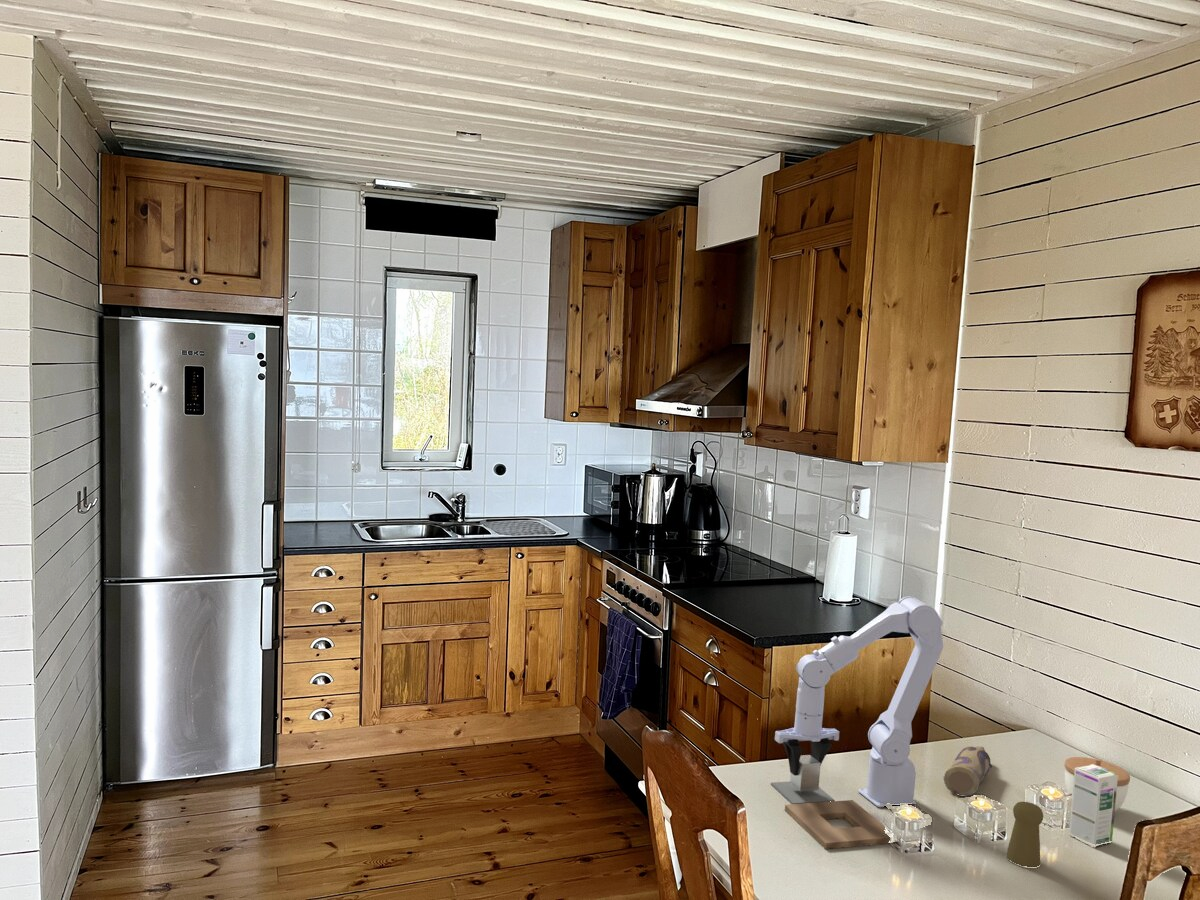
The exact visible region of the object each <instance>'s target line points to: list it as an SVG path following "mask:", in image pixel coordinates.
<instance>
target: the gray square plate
mask: <svg viewBox="0 0 1200 900" xmlns="http://www.w3.org/2000/svg"><path fill="white" fill-rule="evenodd" d="M770 785H771V786H772V788H774V789H775V790H776V791H777V792H778V793H779V794H780V795H781V796H782V797H784V798H785V799H786V800H787V801H788V802H789V803H790V804H803V803H817V802H830V801H831V802H832V801H836V800H835V799H834V798H833V797H832V796H830V794H828V793H827V792H826V791H825V790H823V789H822V788H821V787H820V786H819V789H818V790H816V791H801V792H800V791H799V790H798V789H797V788H795V787H794V786H793V785H792V784H791V783H790V781H775V782H770Z"/></svg>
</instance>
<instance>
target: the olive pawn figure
mask: <svg viewBox="0 0 1200 900" xmlns="http://www.w3.org/2000/svg"><path fill="white" fill-rule="evenodd" d="M1012 813H1013V817H1014V819H1015V820H1014V824H1013V828H1012V831H1011V835H1010V839H1009V843H1008V845H1007V852H1006V855H1007V858H1008V859H1009V860H1011V861H1012V862H1014V863H1016V864H1019V865H1021V866H1027V867H1037V866H1039V865H1040V864H1041V842H1040V841H1041V840H1040V839H1041V838H1040V825H1041V824H1042V822H1043V821H1044V812H1043V810H1042V808H1041V807H1040V806H1039V805H1037V804H1034V803H1032V802H1029V801H1019V802H1018V801H1017V803H1015V805H1014V806H1013V809H1012ZM1006 855H1005V856H1006ZM1007 858H1006V859H1007ZM1008 859H1007V860H1008ZM1009 860H1008V861H1009Z"/></svg>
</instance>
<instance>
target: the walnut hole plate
mask: <svg viewBox="0 0 1200 900" xmlns="http://www.w3.org/2000/svg"><path fill="white" fill-rule="evenodd" d="M784 811H785V812H786V813H787V814H788V815H789V816H790V817H791V818H792V819H793V820H794V821H795V822H796V823H797V824H798V825H799V826H800V827H801V828H802V829H804V831H805V832H806V833H808V835H810V836H811V837H812V838H813V839H814V840H815V841H816V842H817V843H818V844H819V845H820V844H821V845H822V846H823V847H824V848H823V847H822V848H823V849H824V850H831V849H830V848H833V849H841V847H845V848H852V847H851V846H856V847H863V846H862V845H867V846H872V845H871V844H879V845H886V844H885V843H888V842H889V840H890V837H889V836H888V835H887V834H885V831H884V830H885V827H886V826H885V825H884V824H883V823H882V822H880V821H879V820H878V819H877V818H876V817H874V816H873V815H871V813H869V812H868V811H867V810H866V809H865V808H863V807H862V806H860V805H859V804H858V803H857V802H856V801H854V799H850V800H849V799H848V800H837V801H836V800H835V801H832V802H817V803H803V804H791V803H790V804H784ZM833 818H840V819H845V820H846V819H847V820H848V821H849V822H850V825H852V826H851V827H850V826H849V827H840V828H839V827H838V828H836V827H834V826H833V825H832V824H831V823H829V822H828V821H827V820H834V819H833ZM825 819H827V820H825ZM847 820H846V821H847ZM848 821H847V822H848ZM849 822H848V823H849ZM860 845H861V846H860Z"/></svg>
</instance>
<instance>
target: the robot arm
mask: <svg viewBox="0 0 1200 900" xmlns="http://www.w3.org/2000/svg"><path fill="white" fill-rule="evenodd" d="M943 624H944V623H943V620H942V618H941V617H940V615H939V614H938V612H937V610H936V609H935V608H933V607H932V606H931V605H927V604H926V603H924V602H923V601H922V600H921V599H919V598H918V597H916V596H912V595H908V596H904V597H902V598H900V599H899V600H898V602H897V601H896V602H893V603H892V604H890V605H889V606H888V607H887V608H886V609H885V610H884V611H883V612H881V613H880V614H878V615H877V616H876V617H874V618H873V619H872V620H871V621H869V622H868V623H867V624H865V625H863V626H862V627H861V628H860V629H858V630H857V631H856V632H854V633H853V634H851V635H850V636H848V635H839V636H838V637H837V636H836V635H834V636H833V637H832V638H830V640H831V641H830V642H829V643H827V644H826V645H825V646H823V647H821V648H820V649H818V650H817V649H815V650H813V651H812V653H811V654H809V653H808V654H805V655H804V656H801V658H800V659H799V661H798V662H797V664H796V665H795V670H796V672H797V674H798V676H799V677H798V685H797V692H796V701H795V702H796V703H795V715H794V727H791V728H788V729H783V730H776V731H775V732H774V734H775V735H774V741H775V742H777V743H778V744H783V747H784V749H785V753H786V755H787V759H788V765H789V772H790V774H791V773H792V774H793V775H795V776H796V775H797V774H798V770H799V760H800V756H801V755H802V753H803V750H804V748H803V747H802V746H801V745H800V743H799V742H805V741H807V742H808V741H809V742H810V755H811V756H812V757H814V758H815V759H816V760H817V761H819V762H820V763H821V765H820V767H821V766H822V763H823V761H824V759H825V758H826V756H827V754H828V753H829V752H830V751H831V749H832V743H831V742H829V741H830V740H833V741H840V740H839V739H840V731H839V730H837V729H836V728H825V727H823V726H822V725H823V717H824V716H823V715H824V706H825V705H824V704H825V694H826V693H825V688H826V685H827V684H828V683H829V682H830V680H831V676H832V675H834V674H836V673H837V672H838V671H840V670H842V669H843V668H844V667H846V666H847V665H849V664H851V663H853V662H854V661H856V660H857V659H858V657H859V654H860V653H859V652H860V650H863V649H864V648H865V647H867V646H868V645H871V644H872V643H874V642H876V641H878V640H879V639H881V638H883V637H884V636H886V635H888V634H890V633H892V632H894V633H895V632H896V633H903V634H910V636H911V638H912V640H913V643H914V647H913V649H912V652H911V654H910V656H909V659H908V661H907V663H906V666H905V668H904V670H903V673H902V675H901V678H900V679H899V683H898V684H897V687H896V688H895V692H894V694H893V696H892V698H891V701H890V702H889V705H888V708H887V709H886V710H885V711H883V712H882V713H880V715H879V717H878V718H877V720H876V721H875V722H874V723H873V724H872V725H871V726H870V727H869V730H868V732H867V737H868V741H869V743H870V745H871V747H872V748H871V749H870V753H869V759H868V761H869V762H868V769H867V770H868V771H867V779H866V780H867V783H866V788H858V789H857V791H858V793H859V794H860V795H862V796H863V797H864V798H866V799H867V800H868V801H869V802H870V803H872V804H873V805H875V806H876V807H878V808H885V807H884V806H885V805H886V804H887V803H890V804H900V803H912V804H915V805H916V801H914V797H915V788H916V787H915V786H916V776H917V773H916V768H915V765H914V763H913V762H912V760H911V759H910V758H909V756H910V753H911V749H910V748H911V747H910V746H911V740H912V738H913V730H912V721H913V719H914V717H915V715H916V712H917V710H918V708H919V706H920V704H921V703H920V702H921V701H922V698H923V696H924V694H925V691H926V688H927V686H928V684H929V682H930V679H931V677H932V675H933V673H934V670H935V668H936V665H937V663H938V660H939V659H940V656H941V655H942V651H943V649H944V642H943V633H942V625H943Z"/></svg>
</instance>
